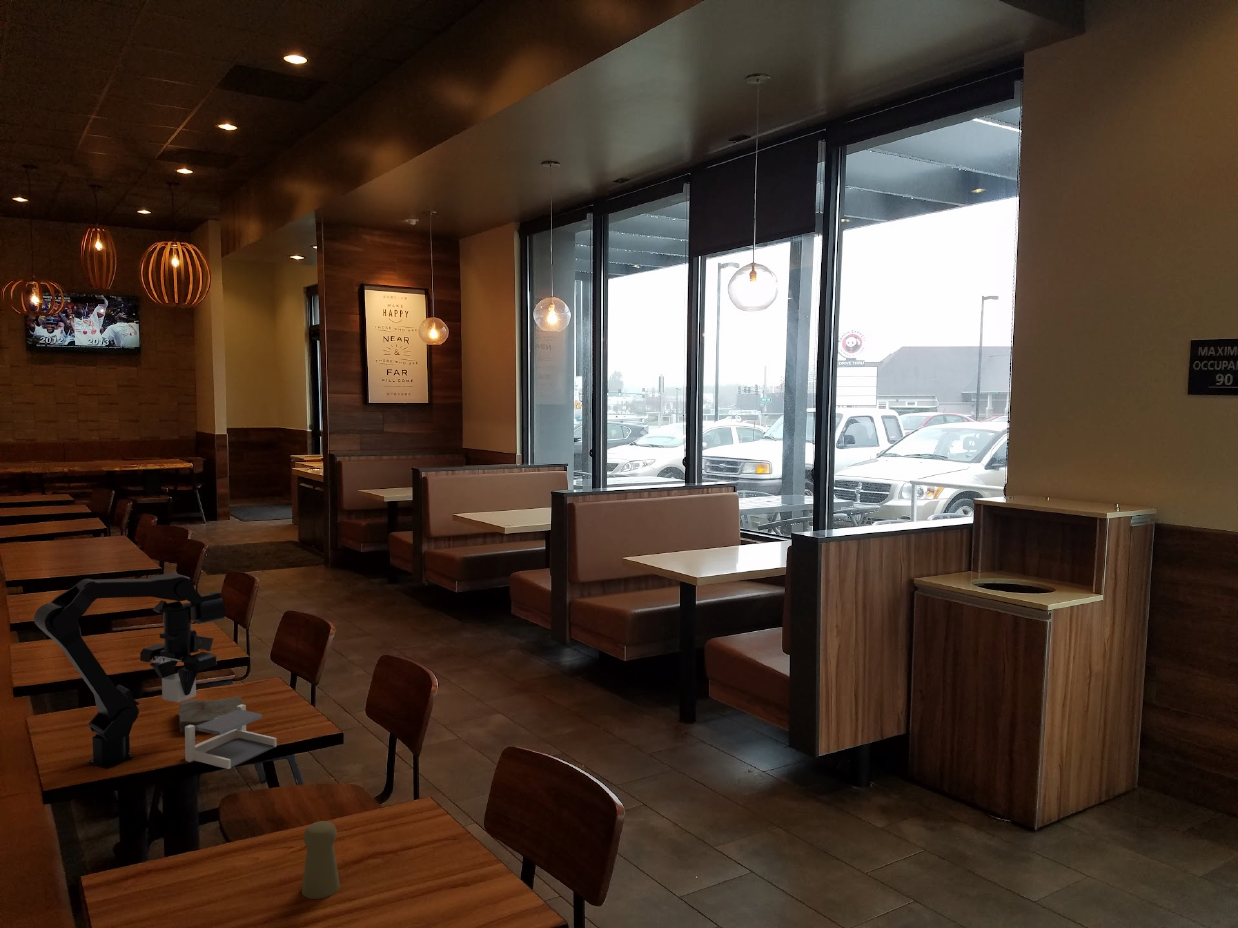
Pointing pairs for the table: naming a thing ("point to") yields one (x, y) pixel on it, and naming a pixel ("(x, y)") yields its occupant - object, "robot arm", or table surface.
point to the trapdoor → (228, 722)
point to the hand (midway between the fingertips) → (179, 693)
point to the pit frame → (227, 746)
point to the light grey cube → (175, 689)
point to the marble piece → (204, 710)
